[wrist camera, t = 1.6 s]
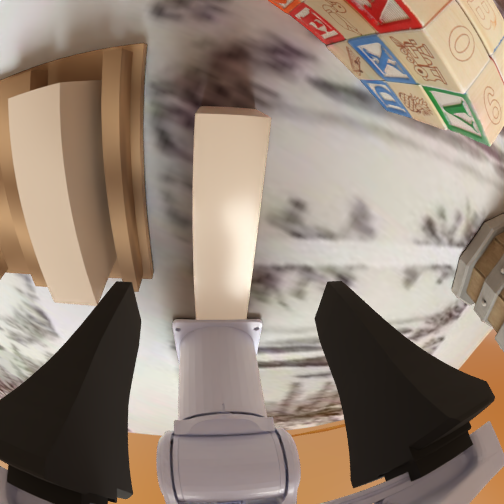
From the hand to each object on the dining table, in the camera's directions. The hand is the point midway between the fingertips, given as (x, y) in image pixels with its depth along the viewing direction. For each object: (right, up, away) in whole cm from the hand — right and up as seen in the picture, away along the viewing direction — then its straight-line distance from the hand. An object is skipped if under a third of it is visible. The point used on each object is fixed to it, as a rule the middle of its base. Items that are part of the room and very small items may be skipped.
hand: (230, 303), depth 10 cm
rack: (-14, +7, +4) cm, 16 cm away
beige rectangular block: (-1, +5, +8) cm, 10 cm away
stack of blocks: (+4, +19, 0) cm, 19 cm away
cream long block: (-10, +7, +4) cm, 13 cm away
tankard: (+34, 0, +17) cm, 38 cm away
